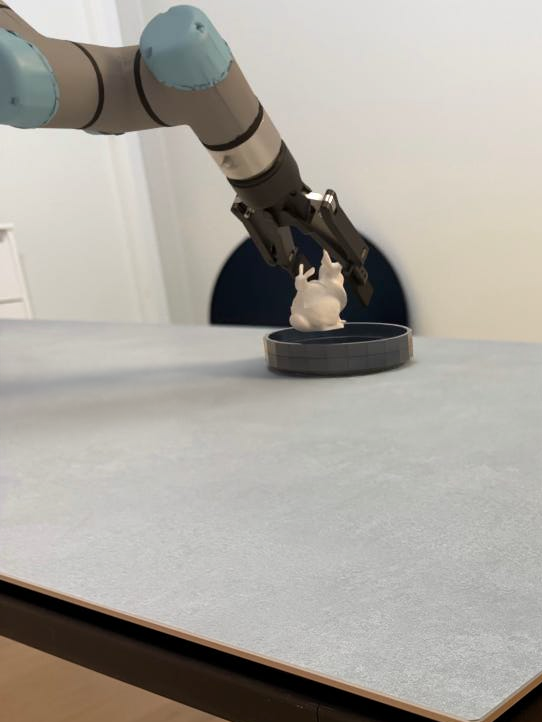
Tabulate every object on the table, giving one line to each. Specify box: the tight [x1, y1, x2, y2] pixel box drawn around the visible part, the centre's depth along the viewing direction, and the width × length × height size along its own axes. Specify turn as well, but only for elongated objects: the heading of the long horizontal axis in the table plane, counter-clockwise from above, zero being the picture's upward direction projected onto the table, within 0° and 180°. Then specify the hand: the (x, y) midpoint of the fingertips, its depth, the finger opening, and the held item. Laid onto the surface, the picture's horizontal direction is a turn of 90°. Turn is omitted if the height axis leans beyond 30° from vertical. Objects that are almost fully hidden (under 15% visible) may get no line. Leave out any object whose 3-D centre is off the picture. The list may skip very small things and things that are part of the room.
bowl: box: [262, 322, 414, 377], centre depth 125 cm, size 19×19×4 cm
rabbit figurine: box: [289, 248, 348, 332], centre depth 121 cm, size 12×8×10 cm, turn 147°
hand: (343, 297), depth 124 cm, fingers closed on rabbit figurine, 6 cm apart
